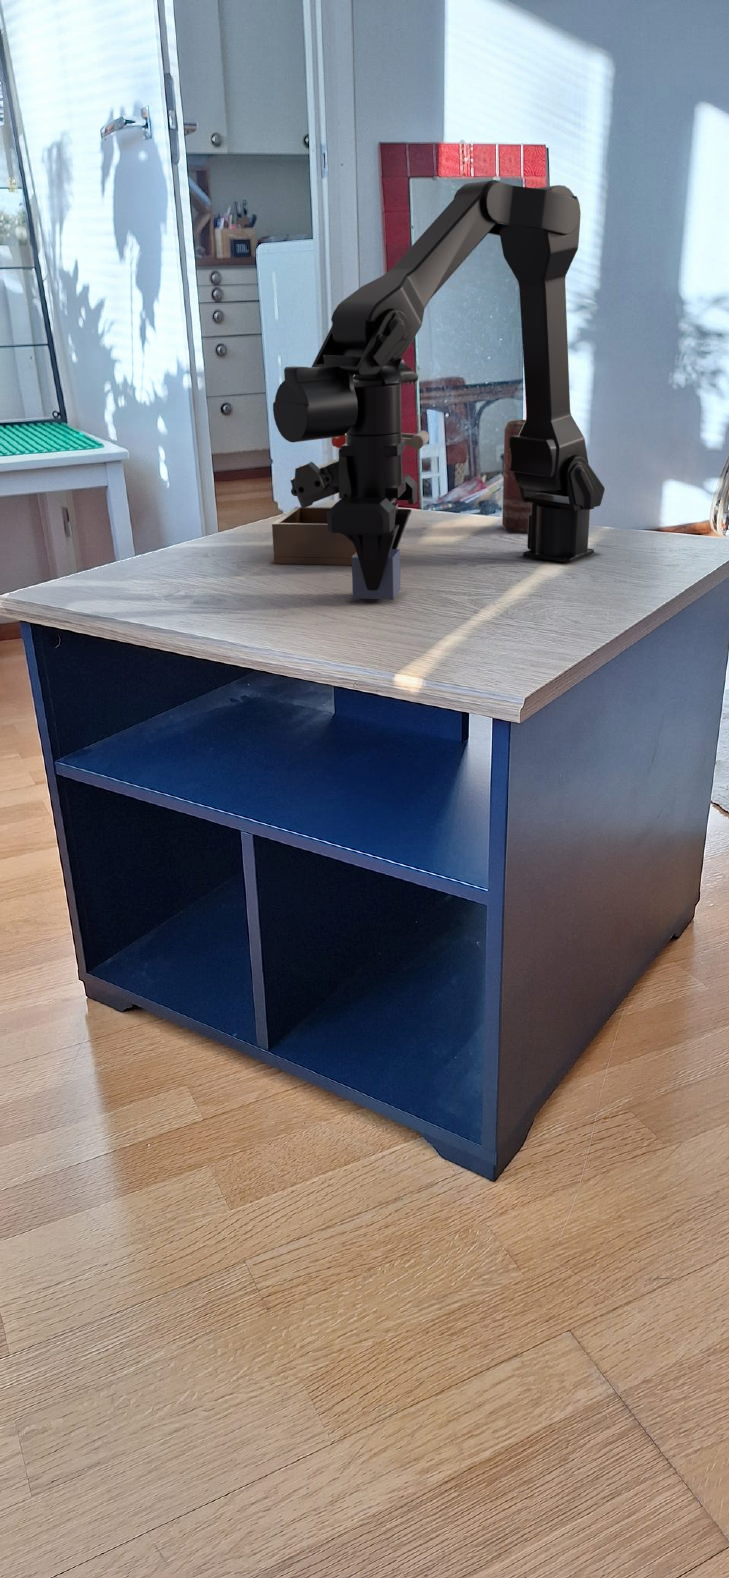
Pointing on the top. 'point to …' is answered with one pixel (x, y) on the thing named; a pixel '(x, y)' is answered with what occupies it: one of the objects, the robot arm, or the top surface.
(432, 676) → the top surface
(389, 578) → the block
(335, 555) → the chest
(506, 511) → the can
